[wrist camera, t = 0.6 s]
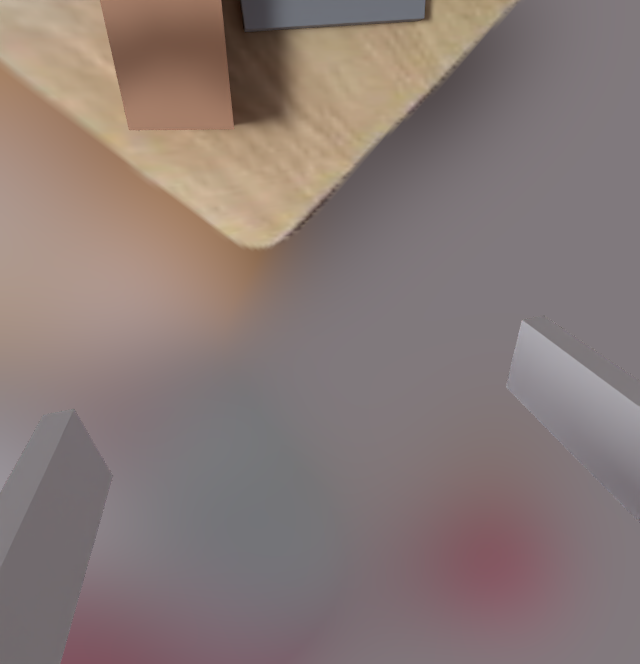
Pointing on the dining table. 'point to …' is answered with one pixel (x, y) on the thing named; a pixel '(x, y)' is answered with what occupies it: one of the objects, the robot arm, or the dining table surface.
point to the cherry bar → (170, 63)
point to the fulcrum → (326, 13)
